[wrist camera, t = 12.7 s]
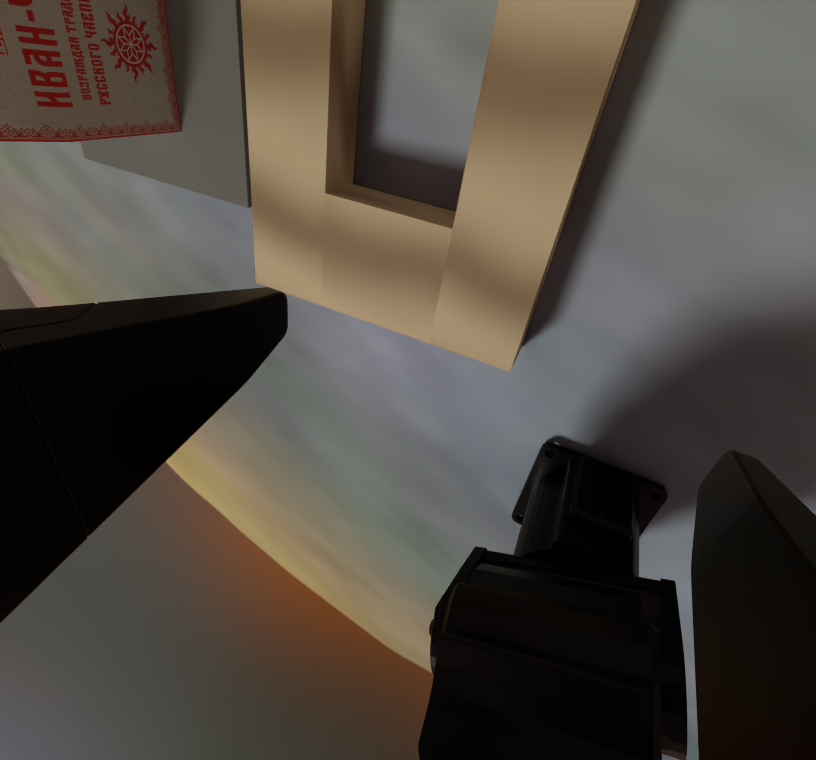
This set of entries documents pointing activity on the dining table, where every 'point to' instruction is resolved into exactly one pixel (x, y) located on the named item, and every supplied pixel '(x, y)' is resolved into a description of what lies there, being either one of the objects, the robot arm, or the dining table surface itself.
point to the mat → (196, 109)
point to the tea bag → (85, 70)
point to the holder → (411, 220)
